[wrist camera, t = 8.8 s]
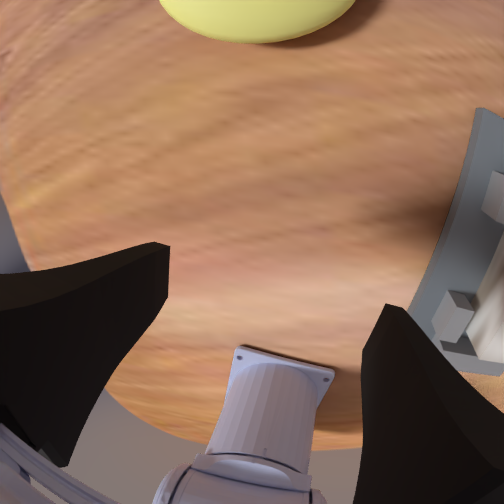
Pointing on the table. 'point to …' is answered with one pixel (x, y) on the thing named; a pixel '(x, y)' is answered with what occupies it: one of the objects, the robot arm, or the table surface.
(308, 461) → the robot arm
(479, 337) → the light grey tapered block
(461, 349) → the cradle
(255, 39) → the emoji
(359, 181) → the table surface
